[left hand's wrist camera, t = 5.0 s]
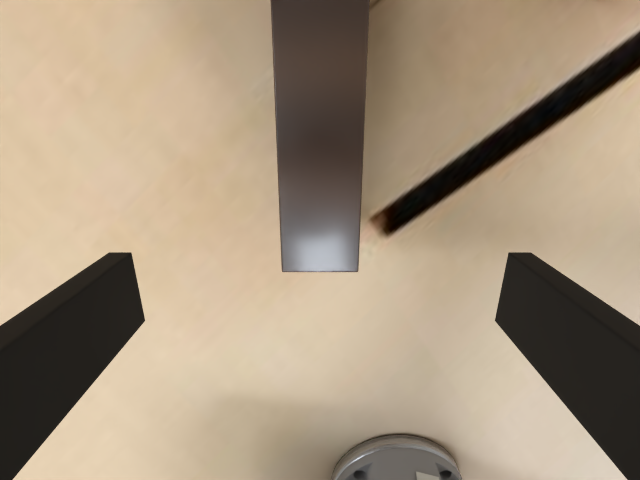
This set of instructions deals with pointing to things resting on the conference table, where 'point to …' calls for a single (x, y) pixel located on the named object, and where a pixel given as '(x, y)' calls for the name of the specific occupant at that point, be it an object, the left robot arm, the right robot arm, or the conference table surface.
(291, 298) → the conference table surface
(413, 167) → the conference table surface
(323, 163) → the walnut beam
